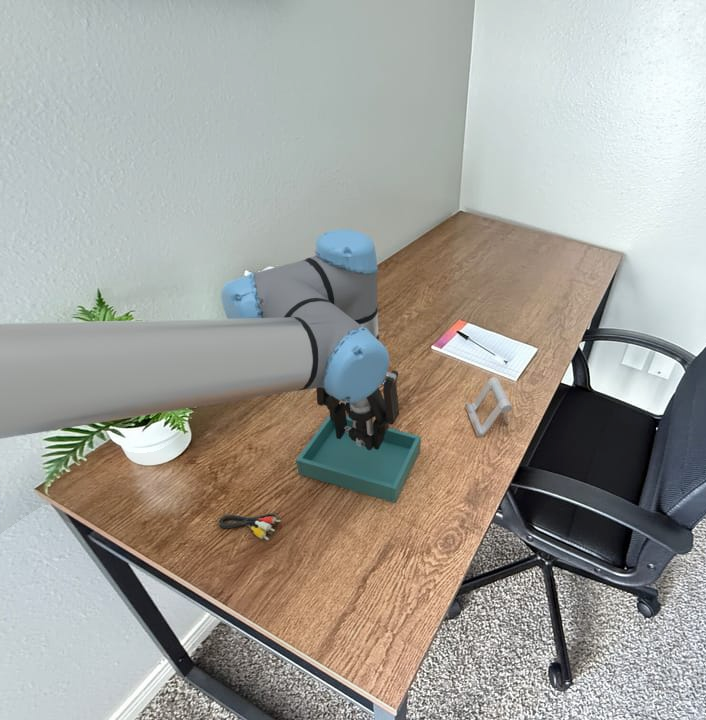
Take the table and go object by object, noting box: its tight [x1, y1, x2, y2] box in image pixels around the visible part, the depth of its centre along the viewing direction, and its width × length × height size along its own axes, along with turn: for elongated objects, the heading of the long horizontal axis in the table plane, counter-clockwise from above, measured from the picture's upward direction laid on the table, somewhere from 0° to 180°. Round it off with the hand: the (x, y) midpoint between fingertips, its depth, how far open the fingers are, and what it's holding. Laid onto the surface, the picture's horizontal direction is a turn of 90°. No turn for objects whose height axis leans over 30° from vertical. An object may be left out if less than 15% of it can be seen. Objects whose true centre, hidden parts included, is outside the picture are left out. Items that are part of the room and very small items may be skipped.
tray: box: [295, 413, 422, 504], centre depth 86 cm, size 19×13×4 cm
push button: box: [344, 398, 375, 450], centre depth 80 cm, size 7×5×10 cm
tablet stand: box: [464, 376, 513, 438], centre depth 97 cm, size 9×8×8 cm
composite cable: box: [218, 512, 282, 542], centre depth 74 cm, size 10×5×2 cm, turn 75°
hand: (360, 438), depth 83 cm, fingers closed on push button, 6 cm apart
